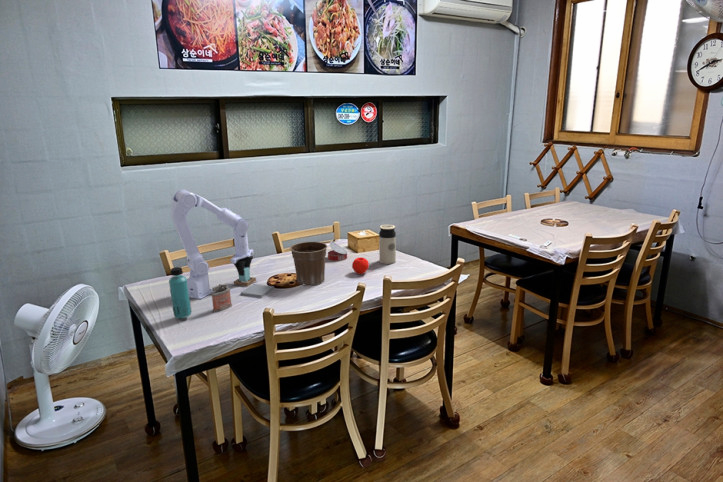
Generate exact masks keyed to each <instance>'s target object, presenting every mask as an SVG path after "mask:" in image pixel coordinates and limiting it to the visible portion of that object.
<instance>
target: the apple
mask: <svg viewBox="0 0 723 482" xmlns="http://www.w3.org/2000/svg"><path fill="white" fill-rule="evenodd" d="M351 266H352V269H353V271H354V273H356V274H358V275H362V274H365V273H366V272H367V271H368V270H369V267H370V264H369V261H368V260H367V258H365V257H356V258H355V259H354V260H353V261H352V264H351Z"/></svg>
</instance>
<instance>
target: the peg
mask: <svg viewBox="0 0 723 482" xmlns="http://www.w3.org/2000/svg"><path fill="white" fill-rule="evenodd" d="M237 275H238V279H239V281H241V282H248V280H249V279H250V277H251V273H250V269H249V267H244V275H243V276H240V275H239V273H238V272H237Z"/></svg>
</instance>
